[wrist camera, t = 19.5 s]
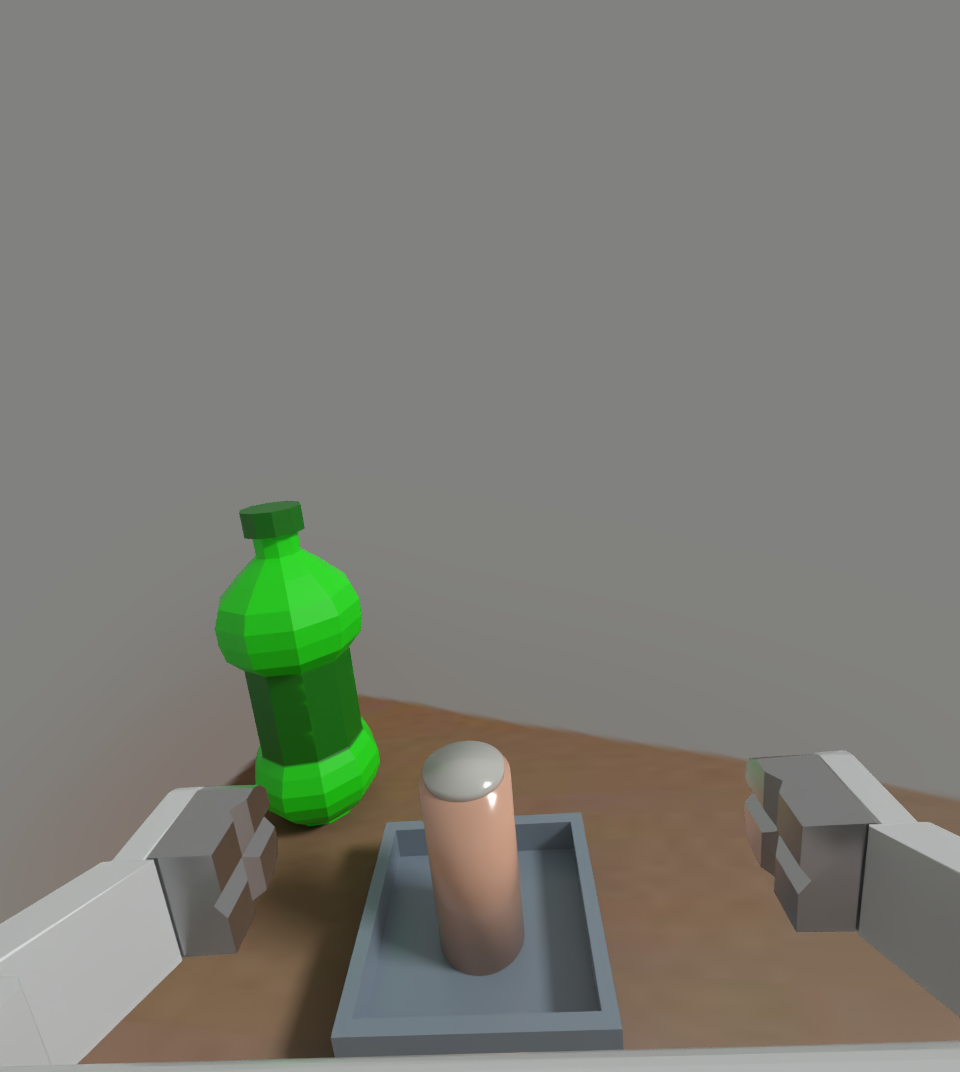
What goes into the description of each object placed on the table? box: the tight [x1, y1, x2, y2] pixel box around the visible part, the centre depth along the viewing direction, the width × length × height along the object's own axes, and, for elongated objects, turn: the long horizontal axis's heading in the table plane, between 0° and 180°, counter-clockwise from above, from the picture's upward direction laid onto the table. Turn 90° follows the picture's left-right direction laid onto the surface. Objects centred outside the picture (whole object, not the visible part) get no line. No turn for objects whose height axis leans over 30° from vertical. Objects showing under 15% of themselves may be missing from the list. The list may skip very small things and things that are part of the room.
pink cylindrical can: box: [418, 741, 525, 976], centre depth 32 cm, size 5×5×12 cm
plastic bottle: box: [215, 501, 380, 826], centre depth 44 cm, size 10×10×25 cm
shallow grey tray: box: [331, 813, 623, 1057], centre depth 33 cm, size 14×14×3 cm
